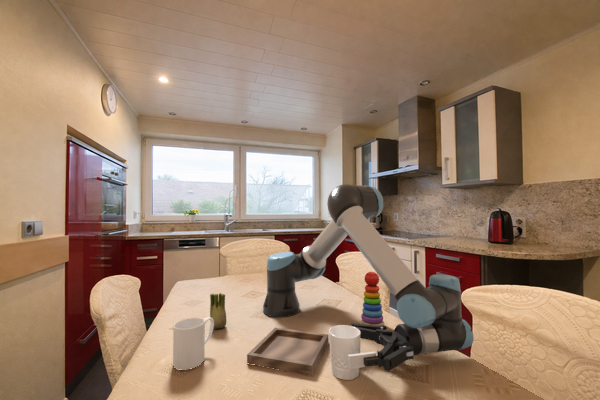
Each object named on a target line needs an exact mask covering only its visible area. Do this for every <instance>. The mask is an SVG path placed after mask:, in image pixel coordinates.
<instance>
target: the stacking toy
mask: <svg viewBox="0 0 600 400" xmlns="http://www.w3.org/2000/svg"><path fill="white" fill-rule="evenodd" d="M364 282H365V284H366V285H365V286H364V290H365V291H364V292H363V296H364V297H363V303H362V307H363V308H362V314H361V315H360V317H361V320H360V324H365V325H376V326H380V325H385V321H384V316H383V313H384V311H383V310H382V308H383V305H382V303H381V301H382V299H381V298H380V296H381V294H380V292H379V291H380V286H378V284H379V282H380V277H379V275H378V274H377V273H376V271H375V272H374V271H367V272H366V273H365V276H364Z"/></svg>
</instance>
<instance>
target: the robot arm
mask: <svg viewBox="0 0 600 400" xmlns="http://www.w3.org/2000/svg"><path fill="white" fill-rule="evenodd" d="M326 203H327V210H328V214H329V216H330V217H331V220H330V221H329V223H328V224H327V225H326V226H325V227H324V229H323V230H322V231H321V232H320V234H319V235H318V236H317V237H316V239H315V240H314V241H312V242H313V243H311V244H310V245H306V246H305V247H304V248H303V249H302V250H301V252H300V253H297V254H295V253H294V252H292V251H283V252H282V251H281V252H276V253H273V254H271V255H270V256H268V257H267V260H266V288H267V289H266V292H267V293H266V295H265V298H264V302H263V306H262V312H263V314H264V315H266V316H269V317H274V318H275V317H276V318H284V317H292V316H295V315H297V314H298V313H299V312H300V307H301V306H300V301H299V299H298V296H297V292H296V283H298V282H302V281H303V282H304V281H307V280H315V279H317V278H320V277H322V276H323V274H324V273H325V271H326V266H327V258H328V257H330V255H332V253H333V252H334V251H335V250H336V249H337V248H338V246H340V244H341V243H342V242H343V241H344V240H345V239H346V237H349V238H350V239H351V241H352V242H353V243H354V245H355V246H356V248H357V249H358V250H359V252H360V253H361V254H362V256H364V258H365V259H366V261H367V262H368V263H369V265H370V266H371V268H372V269H373V270H374V271H375V273H376V274H377V275H378V276H379V279H381V281H382V282H383V283H384V285H385V286H386V287H387V288H388V290H389V292H390V293H391V294H392V295H393V297H394V298H395V299H396V301H397V302H396V311H397V313H398V317H399V319H400V320H401V322H403V323H399V324H397V325H396V326H395V328H394V329H393V330H391V329H387V325H385V324H384V325H380V326H376V325H365V324H361V323H351V324H350V326H353V327H355V328H357V329H359V330H360V332H361V335H360V339H363V340H367V341H372V342H375V343H376V344H378V345H381V346H383V348H381V350H377V352H376V351H375V350H374V351H368V352H367V351H366V352H360V353H358V354H350V355H348V367H349V369H353V368H359V369H360V368H365V367H366V368H367V367H368V368H369V367H374V366H377V367H379V368H384V371H385V372H390V371H392V370H394V369H395V368H396V367H398V366H400V365H401V364H403V363H405V362H406V361H409V360H410V361H411V360H413V359H414V356H418V355H427V354H432V353H440V352H449V351H459V350H465V349H467V348H469V347H471V346H472V345H473V344H474V337H475V336H474V332H472V327H471V325H470V324H469V323H468V322H467V320H466V319H463V317H462V294H461V293H462V290H461V284H460V279H458V277H456V276H453V275H449V274H441V273H440V274H438V273H437V274H432V275H430V276H429V279H428V280H429V281H428V286H427V287H425V286H424V285H423V283H422V282H421V281H420V280H419V279H418V278H417V276H416V275H415V274H414V273H413V272H412V271H411V269H410V268H409V266H407V265H406V263H404V261H403V260H402V259H401V257H400V256H399V255H398V254H397V253H396V252H395V250H394V249H393V248H392V247H391V245H389V243H388V242H387V241H386V240H385V239H384V237H383V236H382V235H381V234H380V232H379V231H378V230H377V229H376V227H375V226H374V225H373V224H372V223H371V222H370V221H369V219H373V218H378V216H380V214H381V213H382V212H383V209H384V197H383V195H382V193H381V192H380V190H379V189H377V188H376V187H374V186H370V185H366V184H365V185H359V184H348V183H345V184H340V185H338V186H335V187H334V188H333V189H332V190H331V191H330V194H328V197H327V202H326Z"/></svg>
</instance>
